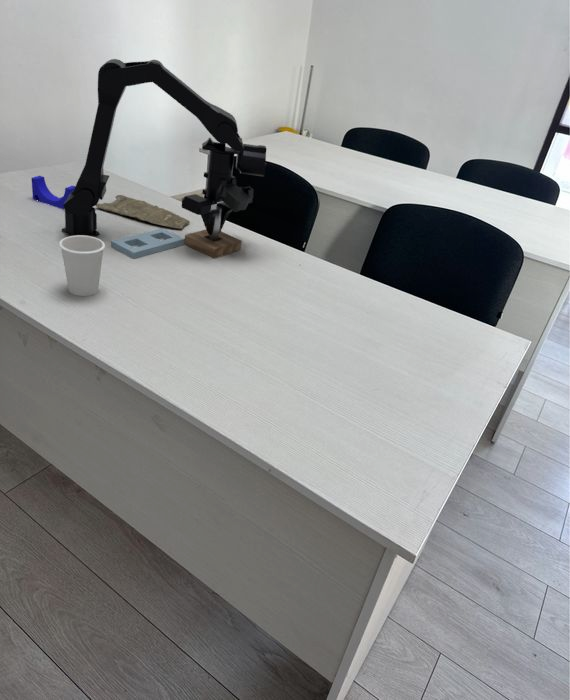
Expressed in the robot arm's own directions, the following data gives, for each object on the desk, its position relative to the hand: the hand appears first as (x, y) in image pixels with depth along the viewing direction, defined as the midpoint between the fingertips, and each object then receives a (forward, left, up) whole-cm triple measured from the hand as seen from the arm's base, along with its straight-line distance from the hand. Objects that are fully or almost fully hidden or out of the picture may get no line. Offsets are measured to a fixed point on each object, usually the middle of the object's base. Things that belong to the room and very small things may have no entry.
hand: (214, 233), depth 144 cm
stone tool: (0, +25, -4) cm, 25 cm away
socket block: (0, 0, -4) cm, 4 cm away
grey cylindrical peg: (0, 0, -4) cm, 4 cm away
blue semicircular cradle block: (-15, +43, -4) cm, 45 cm away
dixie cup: (-39, -1, -4) cm, 39 cm away
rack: (-13, +9, -4) cm, 16 cm away
